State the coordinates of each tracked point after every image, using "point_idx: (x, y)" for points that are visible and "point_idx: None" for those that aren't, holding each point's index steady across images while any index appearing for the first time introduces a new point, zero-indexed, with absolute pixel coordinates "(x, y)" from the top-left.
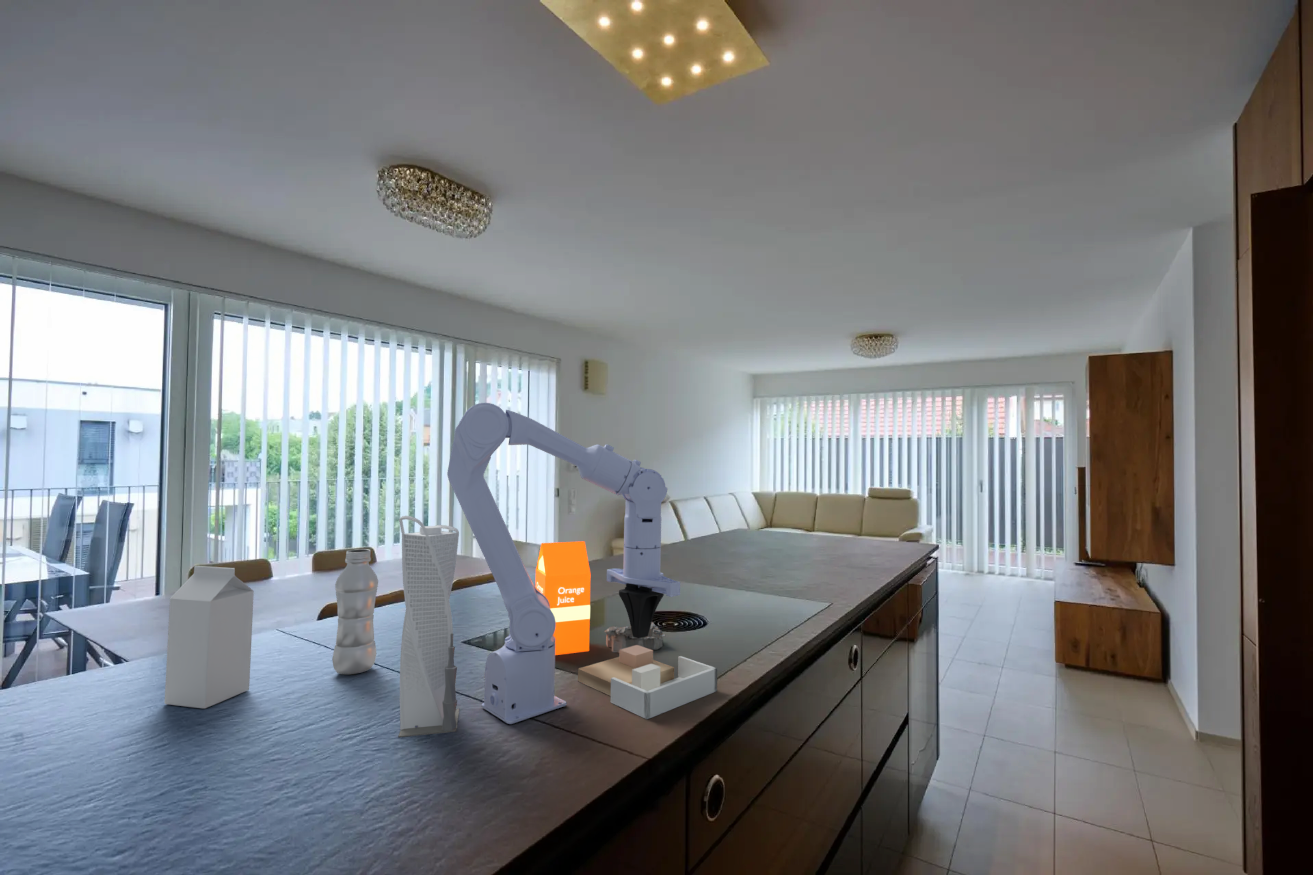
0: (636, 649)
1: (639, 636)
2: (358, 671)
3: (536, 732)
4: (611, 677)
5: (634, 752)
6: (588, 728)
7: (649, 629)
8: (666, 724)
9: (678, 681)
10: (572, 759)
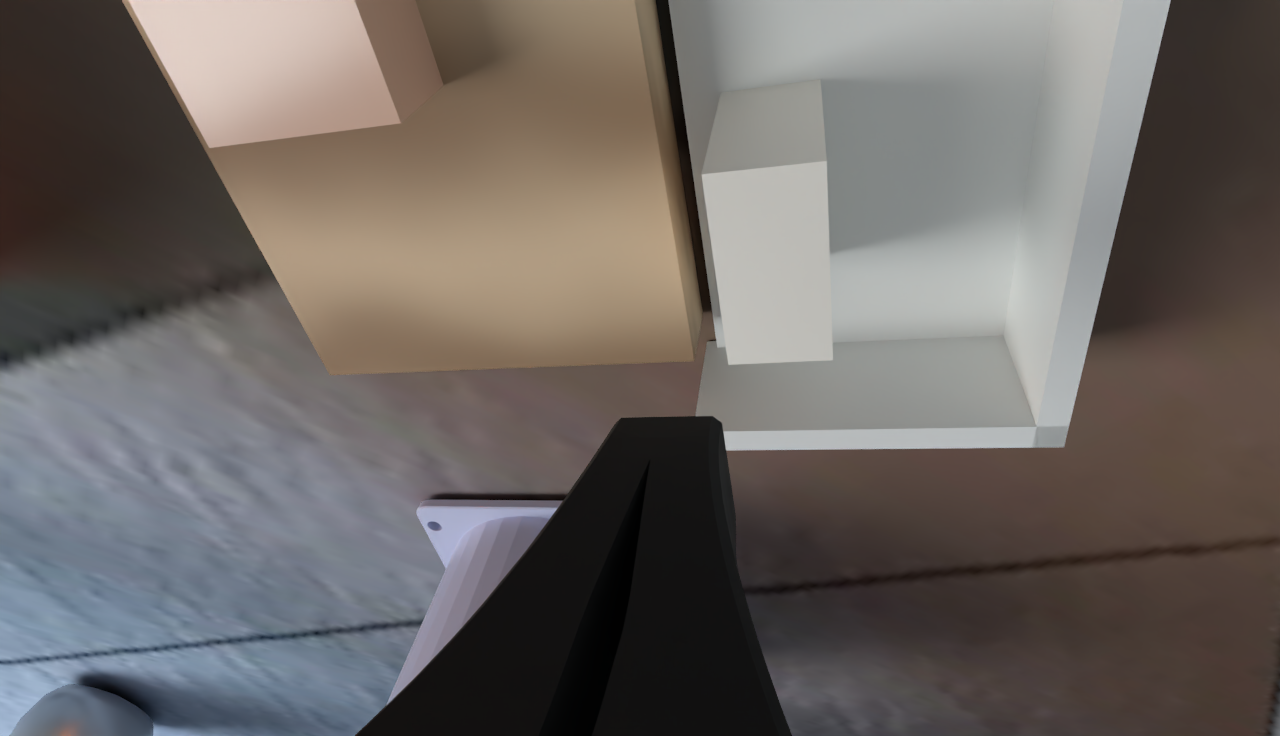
0: (230, 3)
1: (733, 528)
2: (145, 719)
3: (774, 634)
4: (545, 316)
5: (1202, 542)
6: (879, 539)
7: (716, 460)
8: (1167, 308)
9: (1122, 155)
10: (1029, 657)
